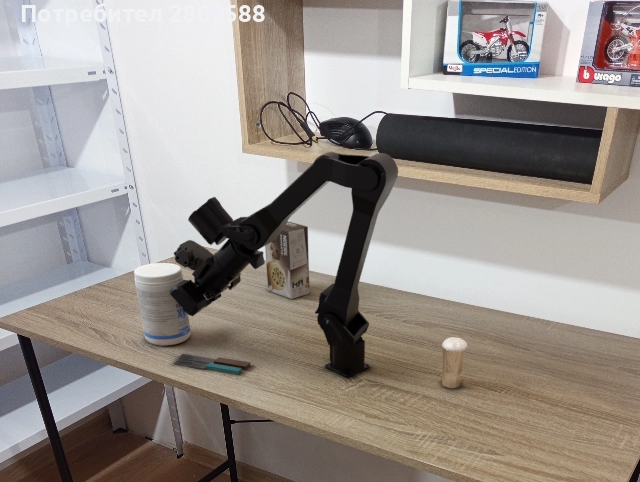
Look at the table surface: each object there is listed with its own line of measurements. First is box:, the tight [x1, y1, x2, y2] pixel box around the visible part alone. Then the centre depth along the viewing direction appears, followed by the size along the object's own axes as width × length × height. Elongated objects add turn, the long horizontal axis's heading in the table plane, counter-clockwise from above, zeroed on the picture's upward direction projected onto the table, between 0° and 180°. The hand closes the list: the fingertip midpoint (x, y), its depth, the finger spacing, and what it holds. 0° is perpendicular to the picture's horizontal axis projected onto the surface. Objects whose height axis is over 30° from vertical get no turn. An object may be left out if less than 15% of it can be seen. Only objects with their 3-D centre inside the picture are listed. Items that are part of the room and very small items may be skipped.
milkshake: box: [441, 336, 472, 389], centre depth 126 cm, size 4×5×10 cm
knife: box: [178, 353, 252, 371], centre depth 135 cm, size 15×2×1 cm, turn 71°
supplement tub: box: [133, 262, 192, 346], centre depth 141 cm, size 10×10×15 cm
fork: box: [173, 358, 243, 376], centre depth 133 cm, size 14×2×1 cm, turn 71°
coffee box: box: [264, 220, 311, 300], centre depth 164 cm, size 9×6×16 cm
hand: (184, 309), depth 140 cm, fingers closed, pressing on supplement tub
